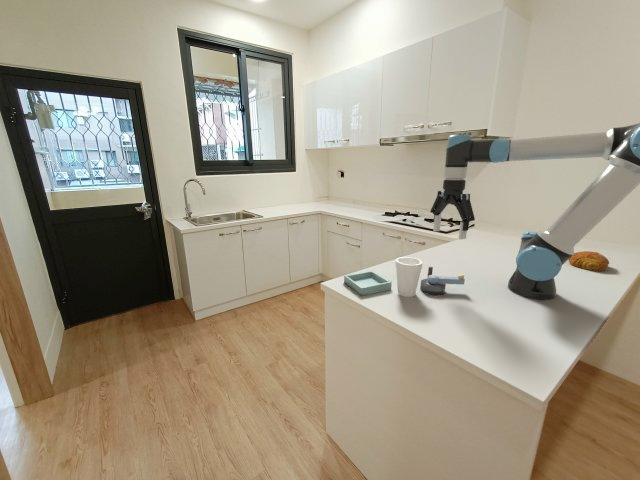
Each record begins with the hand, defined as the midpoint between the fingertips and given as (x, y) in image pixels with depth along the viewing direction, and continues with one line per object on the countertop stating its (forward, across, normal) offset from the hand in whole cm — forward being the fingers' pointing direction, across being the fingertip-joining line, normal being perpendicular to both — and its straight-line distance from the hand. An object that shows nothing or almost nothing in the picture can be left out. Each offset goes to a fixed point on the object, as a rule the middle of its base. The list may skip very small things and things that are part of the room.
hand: (448, 234), depth 115 cm
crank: (+18, -5, +4) cm, 19 cm away
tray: (+21, +9, +30) cm, 38 cm away
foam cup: (+21, -2, +19) cm, 28 cm away
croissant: (+22, -5, -80) cm, 83 cm away
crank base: (+21, -1, +8) cm, 22 cm away
